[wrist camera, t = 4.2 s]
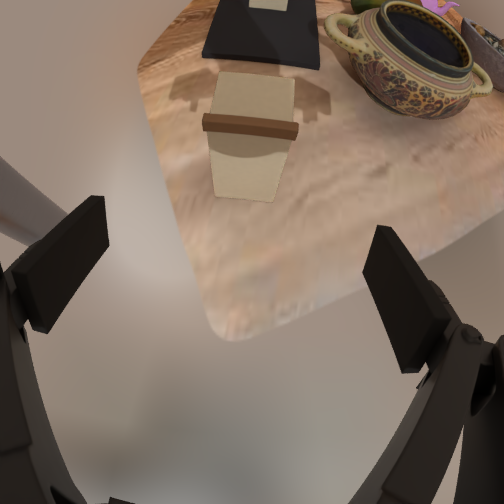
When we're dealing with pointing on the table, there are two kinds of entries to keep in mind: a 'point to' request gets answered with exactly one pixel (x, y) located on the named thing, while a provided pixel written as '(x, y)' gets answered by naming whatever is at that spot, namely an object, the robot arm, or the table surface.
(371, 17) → the ceramic bowl
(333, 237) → the table surface
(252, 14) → the base
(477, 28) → the planter
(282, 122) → the cream rectangular block
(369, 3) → the fruit
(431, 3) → the teapot
